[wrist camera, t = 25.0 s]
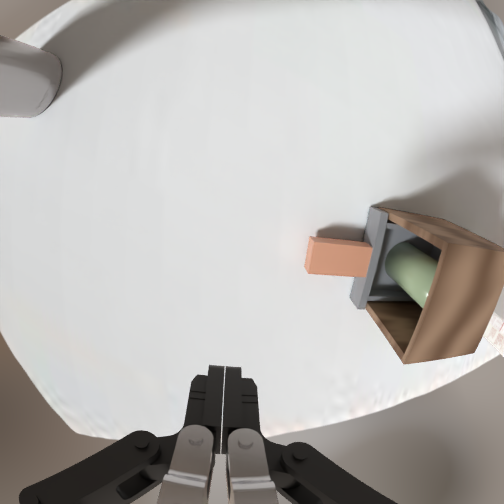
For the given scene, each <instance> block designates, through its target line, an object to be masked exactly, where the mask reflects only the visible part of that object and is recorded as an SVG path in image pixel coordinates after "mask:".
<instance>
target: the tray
mask: <svg viewBox="0 0 504 504" xmlns="http://www.w3.org/2000/svg"><path fill="white" fill-rule="evenodd" d="M388 214H389V213H387V212H385V211H382V210H380V209H378V208H375V207H370V209H369V214H368V219H367V225H366V230H365V235H364V239H363V242H359V241H350V240H341V239H331V238H321V237H311V236H310V237H309V243H308V249H307V255H306V261H305V266H304V267H305V269H306V270H307V272H308V274H320V275H335V276H350V277H355V279H354V283H353V287H352V290H351V294H350V299H351V300H352V302H353V303H354V305H355V306H356V308H357V309H365V307H366V304H367V301H415V300H414V299H413V298H412V297H411V296H410V295H408V294H407V293H406V292H405V291H404V290H403V289H402V288H401V287H400V286H399V285H398V284H397V283H396V282H395V281H394V280H392V279H391V278H390V277H389V276H388V275H387V273H386V271H385V259H386V256H387V254H388V252H389V251H390V250H391V248H392V247H394V246H395V245H396V244H398V243H401V242H408V243H410V244H412V245H413V246H415V247H417V248H418V249H420V250H421V251H423V252H424V253H426V254H428V255H429V256H431V257H432V258H434V259H435V260H437V261H438V262H439V258H440V254H441V251H442V250H441V249H439V248H438V247H436V246H434V245H433V244H431V243H429V242H428V241H426V240H424V239H423V238H421V237H419V236H417V235H416V234H414V233H412V232H410V231H409V230H407V229H405V228H403V227H401V226H400V225H398V224H396V223H394V222H392V221H390V220H389V219H388Z"/></svg>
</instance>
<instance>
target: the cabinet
mask: <svg viewBox="0 0 504 504" xmlns="http://www.w3.org/2000/svg"><path fill="white" fill-rule="evenodd" d="M378 209H380V210H382V211H385V212H387V213H389V214H388V219H389V220H390V221H392V222H394V223H396V224H398V225H400V226H401V227H403V228H405V229H407V230H409V231H410V232H412V233H414V234H416V235H417V236H419V237H421V238H423V239H424V240H426V241H428V242H429V243H431V244H433V245H434V246H436V247H438V248H439V249H441V250H442V251H441V254H440V258H439V262H438V265H437V268H436V272H435V275H434V278H433V281H432V284H431V287H430V290H429V293H428V296H427V299H426V302H425V305H424V307H423V308H422V307H421V306H420V305H419V304H418V303H417V302H416V301H367V304H366V307H365V309H366V310H367V311H368V313H369V314H370V316H371V317H372V318H373V320H374V321H375V323H376V324H377V326H378V327H379V328H380V330H381V331H382V333H383V334H384V336H385V337H386V339H387V340H388V342H389V343H390V344H391V346H392V347H393V349H394V350H395V352H396V353H397V355H398V356H399V358H400V359H401V361H402V362H403V364H411V363H419V362H426V361H433V360H439V359H445V358H451V357H457V356H462V355H467V354H472V353H474V352H475V350H476V348H477V347H478V345H479V343H480V341H481V338H482V336H483V334H484V332H485V330H486V328H487V326H488V323H489V321H490V319H491V317H492V314H493V312H494V310H495V307H496V305H497V302H498V300H499V297H500V294H501V292H502V289H503V286H504V248H502V247H500V246H498V245H496V244H494V243H492V242H490V241H488V240H486V239H484V238H482V237H480V236H478V235H476V234H474V233H472V232H470V231H468V230H466V229H464V228H462V227H460V226H457V225H455V224H453V223H451V222H449V221H446V220H444V219H440V218H435V217H430V216H425V215H420V214H415V213H409V212H404V211H398V210H393V209H387V208H381V207H378Z"/></svg>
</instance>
